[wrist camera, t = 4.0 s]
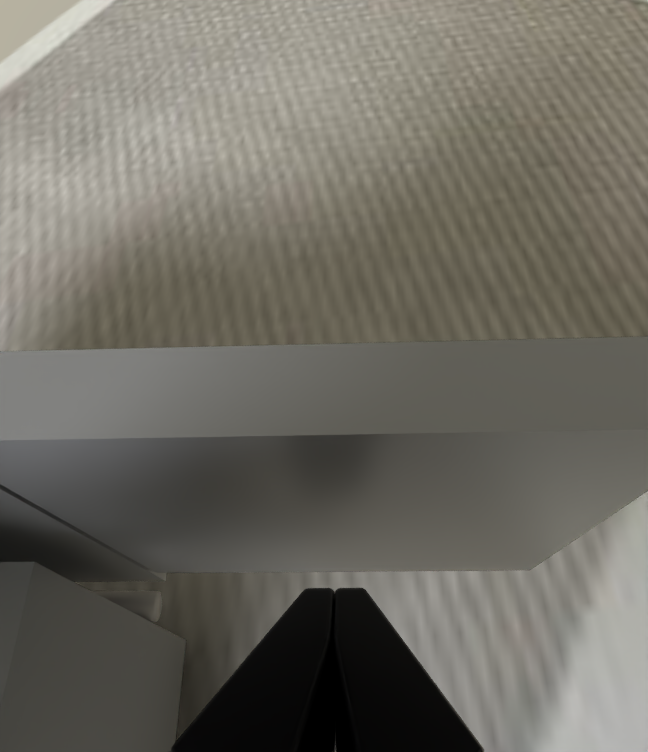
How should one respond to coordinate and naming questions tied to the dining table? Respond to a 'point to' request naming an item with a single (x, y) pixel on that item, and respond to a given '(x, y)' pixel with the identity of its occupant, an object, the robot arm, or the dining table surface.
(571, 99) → the dining table surface
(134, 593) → the grey box
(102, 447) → the side door
